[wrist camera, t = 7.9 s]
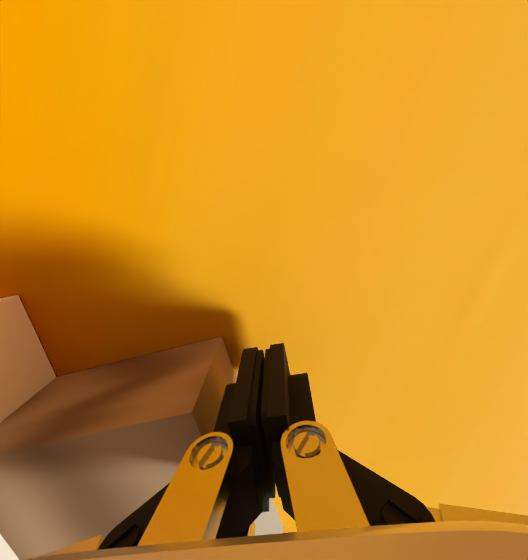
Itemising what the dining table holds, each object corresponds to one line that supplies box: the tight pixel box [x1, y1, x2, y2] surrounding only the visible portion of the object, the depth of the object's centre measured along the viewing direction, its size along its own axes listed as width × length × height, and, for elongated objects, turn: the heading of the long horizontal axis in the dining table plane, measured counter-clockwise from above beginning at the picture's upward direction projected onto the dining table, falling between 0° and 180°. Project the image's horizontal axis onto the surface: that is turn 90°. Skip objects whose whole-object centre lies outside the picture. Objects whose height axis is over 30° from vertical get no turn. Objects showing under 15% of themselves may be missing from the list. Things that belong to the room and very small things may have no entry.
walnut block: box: [0, 336, 237, 560], centre depth 12 cm, size 9×6×5 cm, turn 106°
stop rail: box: [0, 295, 56, 560], centre depth 15 cm, size 4×20×3 cm, turn 12°
